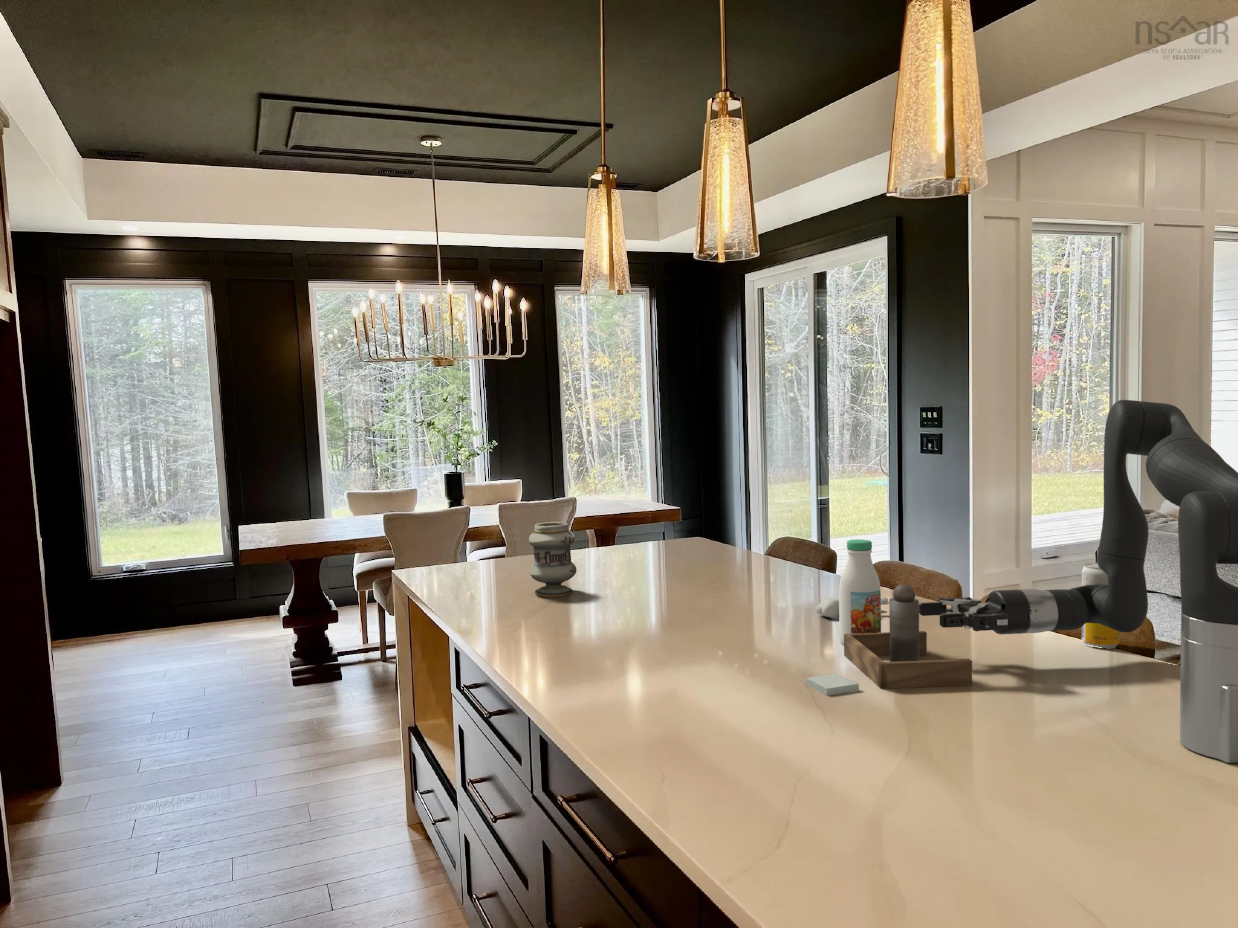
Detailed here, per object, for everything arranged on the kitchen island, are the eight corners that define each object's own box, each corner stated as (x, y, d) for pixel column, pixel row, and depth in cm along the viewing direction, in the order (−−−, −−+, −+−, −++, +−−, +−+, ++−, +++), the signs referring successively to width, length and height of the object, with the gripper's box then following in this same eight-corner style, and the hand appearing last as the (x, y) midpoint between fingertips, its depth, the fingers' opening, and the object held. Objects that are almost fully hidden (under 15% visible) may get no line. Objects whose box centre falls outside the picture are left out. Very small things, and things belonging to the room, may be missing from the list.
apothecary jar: (526, 590, 221) (524, 522, 220) (570, 586, 225) (568, 519, 224) (535, 599, 210) (533, 527, 209) (582, 595, 213) (580, 524, 212)
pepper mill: (923, 672, 143) (923, 586, 142) (896, 673, 143) (895, 587, 142) (912, 664, 148) (912, 581, 147) (885, 665, 147) (885, 582, 147)
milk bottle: (835, 646, 160) (834, 542, 159) (844, 636, 167) (843, 536, 166) (876, 650, 157) (876, 544, 156) (884, 640, 164) (883, 538, 163)
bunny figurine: (808, 596, 187) (865, 582, 192) (811, 618, 188) (868, 604, 192) (831, 605, 178) (891, 590, 183) (834, 628, 179) (894, 613, 183)
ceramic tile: (858, 693, 135) (858, 683, 135) (826, 698, 133) (826, 688, 133) (836, 682, 140) (836, 673, 140) (805, 687, 138) (805, 677, 138)
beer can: (1124, 650, 153) (1124, 568, 152) (1087, 649, 154) (1088, 568, 154) (1111, 641, 159) (1112, 562, 158) (1076, 640, 160) (1077, 562, 160)
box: (972, 684, 136) (972, 660, 136) (880, 688, 135) (880, 663, 135) (924, 652, 155) (924, 630, 155) (844, 655, 154) (843, 633, 154)
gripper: (1000, 581, 152) (912, 585, 151) (1044, 598, 138) (948, 602, 137) (1000, 622, 153) (913, 626, 152) (1044, 643, 138) (948, 647, 138)
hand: (929, 614), depth 145 cm, fingers open, 8 cm apart
